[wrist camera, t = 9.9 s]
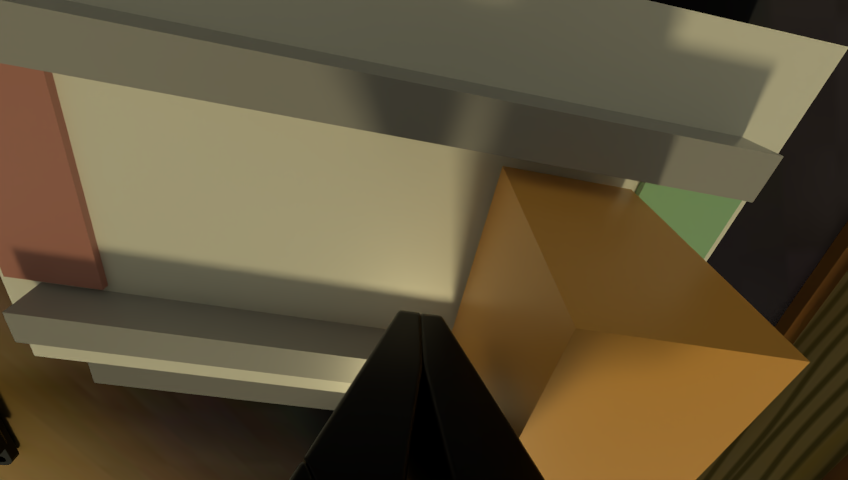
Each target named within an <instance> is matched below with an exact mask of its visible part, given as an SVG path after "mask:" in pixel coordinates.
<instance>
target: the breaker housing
mask: <svg viewBox="0 0 848 480" xmlns="http://www.w3.org/2000/svg"><path fill="white" fill-rule="evenodd" d="M847 49H848V47H846V46H842V45H838V44H833V43H829V42H825V41H820V40H816V39H812V38H808V37H803V36H799V35H795V34H790V33H786V32H782V31H778V30H773V29H769V28H765V27H760V26H756V25H752V24H748V23H743V22H739V21H735V20H730V19H726V18H722V17H718V16H713V15H709V14H705V13H700V12H696V11H692V10H688V9H683V8H679V7H675V6H670V5H666V4H662V3H658V2H653V1H649V0H0V276H1V279H2V281H3V283H4V286H5V288H6V290H7V293H8V295H9V297H10V300H11V302H12V305H11V306H10V307H8V308H7V309H6V310H5V311H3V312H2V313H3V315H4V318H5V320H6V322H7V324H8V326H9V329H10V331H11V333H12V335H13V338H14V340H15V342H19V343H27V344H30V346H31V349H32V351H33V353H34V356H41V357H49V358H58V359H66V360H74V361H83V362H91V363H99V364H108V365H116V366H124V367H133V368H141V369H149V370H158V371H166V372H174V373H182V374H191V375H199V376H207V377H216V378H224V379H232V380H241V381H249V382H257V383H266V384H274V385H282V386H291V387H299V388H307V389H316V390H324V391H332V392H341V393H346V391H347V390H348V388H349V387H350V385H351V383H352V382H353V380H354V379H355V377H356V376H357V374H358V373H359V371H360V369H361V368H362V366H363V365H364V363H365V362H366V360H367V359H368V357H369V355H370V354H371V352H372V351H373V349H374V348H375V346H376V345H377V343H378V341H379V340H380V338H381V337H382V335H383V334H384V332H385V331H386V329H387V327H388V326H389V324H390V323H391V321H392V320H393V318H394V317H395V315H396V313H397V312H398V311H399V310H406V311H414V312H419V313H420V314H421V313H428V314H435V315H440V316H441V317H443V319H444V320H445V322H446V323H447V325H448V327H449V328H450V330H451V331H452V329H453V326H454V323H455V320H456V316H457V313H458V310H459V307H460V303H461V300H462V297H463V293H464V290H465V287H466V284H467V280H468V277H469V274H470V271H471V267H472V264H473V261H474V258H475V254H476V251H477V248H478V245H479V241H480V238H481V235H482V231H483V228H484V225H485V222H486V218H487V215H488V212H489V209H490V205H491V202H492V199H493V196H494V192H495V189H496V186H497V182H498V179H499V176H500V173H501V169H502V166H506V167H511V168H517V169H522V170H528V171H533V172H539V173H544V174H550V175H555V176H561V177H566V178H572V179H577V180H583V181H588V182H593V183H599V184H604V185H610V186H615V187H621V188H626V189H631V190H632V191H633V192H635V193H636V194H637V195H638V196H639V197H640V198H641V199H642V200H643V201H644V202H645V203H646V204H647V205H648V206H649V207H650V208H651V209H652V210H653V211H654V212H655V213H656V214H657V215H658V216H659V217H660V218H661V219H663V220H664V221H665V222H666V223H667V224H668V225H669V226H670V227H671V228H672V229H673V230H674V231H675V232H676V233H677V234H678V235H679V236H680V237H681V238H682V239H683V240H684V241H685V242H686V243H687V244H688V245H689V246H691V247H692V248H693V249H694V250H695V251H696V252H697V253H698V254H699V255H700V256H701V257H702V258H703V259H704V260H705V261H706V262H707V260H708V259H709V257H710V256H711V254H712V252H713V251H714V249H715V248H716V246H717V245H718V243H719V242H720V240H721V239H722V237H723V236H724V234H725V233H726V231H727V230H728V228H729V227H730V225H731V224H732V222H733V221H734V219H735V218H736V216H737V215H738V213H739V212H740V210H741V209H742V207H743V206H744V204H745V203H746V201H748V202H753V201H754V200H755V198H756V197H757V195H758V194H759V192H760V191H761V189H762V188H763V186H764V185H765V183H766V182H767V180H768V179H769V178H770V176H771V175H772V173H773V172H774V170H775V169H776V167H777V166H778V164H779V163H780V161H781V160H782V158H783V157H784V156H782V155H780V154H778V153H779V152H780V150H781V149H782V147H783V146H784V144H785V142H786V141H787V139H788V138H789V136H790V135H791V133H792V132H793V130H794V129H795V127H796V126H797V124H798V123H799V121H800V120H801V118H802V117H803V115H804V114H805V112H806V111H807V109H808V108H809V106H810V105H811V103H812V102H813V100H814V99H815V97H816V96H817V94H818V93H819V91H820V90H821V88H822V87H823V85H824V84H825V82H826V81H827V79H828V78H829V76H830V75H831V73H832V72H833V70H834V69H835V67H836V66H837V64H838V63H839V61H840V60H841V58H842V57H843V55H844V54H845V52H846V51H847Z"/></svg>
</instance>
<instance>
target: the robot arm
mask: <svg viewBox="0 0 848 480" xmlns="http://www.w3.org/2000/svg"><path fill="white" fill-rule="evenodd" d="M18 455H19V452H18V450H17V448H16V446H15V444H14V443H13V441H12V439H11V437H10V435H9V433H8V432H7V430H6V428H5V426H4V424H3V423H2V421H1V419H0V465H9V464H11V463H12V462H13V461H14V459H15V458H16V457H17V456H18ZM289 480H545V479H544V477H543V476H542V474H541V473H540V471H539V469H538V468H537V466H536V465H535V463H534V461H533V460H532V458H531V457H530V455H529V453H528V452H527V450H526V449H525V447H524V446H523V444H522V442H521V441H520V439H519V438H518V436H517V434H516V433H515V431H514V430H513V428H512V427H511V425H510V423H509V422H508V420H507V419H506V417H505V415H504V414H503V412H502V411H501V409H500V408H499V406H498V404H497V403H496V401H495V400H494V398H493V396H492V395H491V393H490V392H489V390H488V388H487V387H486V385H485V384H484V382H483V381H482V379H481V377H480V376H479V374H478V373H477V371H476V369H475V368H474V366H473V365H472V363H471V362H470V360H469V358H468V357H467V355H466V354H465V352H464V350H463V349H462V347H461V346H460V344H459V342H458V341H457V339H456V338H455V336H454V335H453V333H452V331H451V330H450V328H449V327H448V325H447V323H446V322H445V320H444V319H443V317H441V316H440V315H435V314H428V313H421V314H420V313H419V312H414V311H406V310H399V311H398V312H397V313H396V315H395V317H394V318H393V320H392V321H391V323H390V324H389V326H388V327H387V329H386V331H385V332H384V334H383V335H382V337H381V338H380V340H379V341H378V343H377V345H376V346H375V348H374V349H373V351H372V352H371V354H370V355H369V357H368V359H367V360H366V362H365V363H364V365H363V366H362V368H361V369H360V371H359V373H358V374H357V376H356V377H355V379H354V380H353V382H352V383H351V385H350V387H349V388H348V390H347V391H346V393H345V394H344V396H343V397H342V399H341V401H340V402H339V404H338V405H337V407H336V408H335V410H334V411H333V413H332V415H331V416H330V418H329V419H328V421H327V422H326V424H325V425H324V427H323V429H322V430H321V432H320V433H319V435H318V436H317V438H316V439H315V441H314V443H313V444H312V446H311V447H310V449H309V450H308V452H307V453H306V455H305V457H304V459H303V462H301V463H300V464H299V465H298V467H297V468H296V470H295V472H294V473H293V475H292V476H291V478H290V479H289Z"/></svg>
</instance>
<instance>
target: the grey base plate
mask: <svg viewBox="0 0 848 480" xmlns="http://www.w3.org/2000/svg"><path fill="white" fill-rule="evenodd" d="M88 365H89V368H90V371H91V374H92V377H93V380H94V383H102V384H110V385H119V386H128V387H136V388H145V389H154V390H162V391H171V392H180V393H188V394H197V395H206V396H214V397H223V398H232V399H240V400H249V401H258V402H266V403H275V404H283V405H292V406H301V407H309V408H318V409H327V410H335V408H336V407H337V405H338V404H339V402H340V401H341V399H342V397H343V396H344V394H345V393H341V392H332V391H324V390H316V389H307V388H299V387H291V386H282V385H274V384H266V383H257V382H249V381H241V380H232V379H224V378H216V377H207V376H199V375H191V374H182V373H174V372H166V371H158V370H149V369H141V368H133V367H124V366H116V365H108V364H99V363H91V362H88Z"/></svg>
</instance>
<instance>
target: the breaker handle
mask: <svg viewBox="0 0 848 480" xmlns="http://www.w3.org/2000/svg"><path fill="white" fill-rule="evenodd" d="M452 333H453V335H454V336H455V338H456V339H457V341H458V342H459V344H460V346H461V347H462V349H463V350H464V352H465V354H466V355H467V357H468V358H469V360H470V362H471V363H472V365H473V366H474V368H475V369H476V371H477V373H478V374H479V376H480V377H481V379H482V381H483V382H484V384H485V385H486V387H487V388H488V390H489V392H490V393H491V395H492V396H493V398H494V400H495V401H496V403H497V404H498V406H499V408H500V409H501V411H502V412H503V414H504V415H505V417H506V419H507V420H508V422H509V423H510V425H511V427H512V428H513V430H514V431H515V433H516V434H517V436H518V438H519V439H520V441H521V442H522V444H523V446H524V447H525V449H526V450H527V452H528V453H529V455H530V457H531V458H532V460H533V461H534V463H535V465H536V466H537V468H538V469H539V471H540V473H541V474H542V476H543V477H544V479H545V480H696V479H697V478H698V477H699V476H700V475H701V474H702V473H703V472H704V471H705V470H706V469H707V468H708V467H709V466H710V465H711V464H712V463H713V462H714V461H715V460H716V459H717V457H718V456H719V455H720V454H721V453H722V452H723V451H724V450H725V449H726V448H727V447H728V446H729V445H730V444H731V443H732V442H733V441H734V440H735V439H736V438H737V437H738V436H739V435H740V434H741V433H742V432H743V431H744V430H745V429H746V428H747V427H748V426H749V425H750V424H751V423H752V421H753V420H754V419H755V418H756V417H757V416H758V415H759V414H760V413H761V412H762V411H763V410H764V409H765V408H766V407H767V406H768V405H769V404H770V403H771V402H772V401H773V400H774V399H775V398H776V397H777V396H778V395H779V394H780V393H781V392H782V391H783V390H784V389H785V388H786V387H787V385H788V384H789V383H790V382H791V381H792V380H793V379H794V378H795V377H796V376H797V375H798V374H799V373H800V372H801V371H802V370H803V369H804V368H805V367H806V366H807V365H808V364H809V363H810V361H809V360H808V359H807V358H806V357H805V356H804V355H803V354H802V353H800V352H799V351H798V350H797V349H796V348H795V347H794V346H793V345H792V344H791V343H790V342H789V341H788V340H787V339H786V338H785V337H784V336H783V335H782V334H781V333H780V332H779V331H778V330H777V329H776V328H775V327H774V326H772V325H771V324H770V323H769V322H768V321H767V320H766V319H765V318H764V317H763V316H762V315H761V314H760V313H759V312H758V311H757V310H756V309H755V308H754V307H753V306H752V305H751V304H750V303H749V302H748V301H747V300H746V299H744V298H743V297H742V296H741V295H740V294H739V293H738V292H737V291H736V290H735V289H734V288H733V287H732V286H731V285H730V284H729V283H728V282H727V281H726V280H725V279H724V278H723V277H722V276H721V275H720V274H719V273H717V272H716V271H715V270H714V269H713V268H712V267H711V266H710V265H709V264H708V263H707V262H706V261H705V260H704V259H703V258H702V257H701V256H700V255H699V254H698V253H697V252H696V251H695V250H694V249H693V248H692V247H691V246H689V245H688V244H687V243H686V242H685V241H684V240H683V239H682V238H681V237H680V236H679V235H678V234H677V233H676V232H675V231H674V230H673V229H672V228H671V227H670V226H669V225H668V224H667V223H666V222H665V221H664V220H663V219H661V218H660V217H659V216H658V215H657V214H656V213H655V212H654V211H653V210H652V209H651V208H650V207H649V206H648V205H647V204H646V203H645V202H644V201H643V200H642V199H641V198H640V197H639V196H638V195H637V194H636V193H635V192H633V191H632V190H631V189H626V188H621V187H615V186H610V185H604V184H599V183H593V182H588V181H583V180H577V179H572V178H566V177H561V176H555V175H550V174H544V173H539V172H533V171H528V170H522V169H517V168H511V167H506V166H502V169H501V173H500V176H499V179H498V182H497V186H496V189H495V192H494V196H493V199H492V202H491V205H490V209H489V212H488V215H487V218H486V222H485V225H484V228H483V231H482V235H481V238H480V241H479V245H478V248H477V251H476V254H475V258H474V261H473V264H472V267H471V271H470V274H469V277H468V280H467V284H466V287H465V290H464V293H463V297H462V300H461V303H460V307H459V310H458V313H457V316H456V320H455V323H454V326H453V329H452Z"/></svg>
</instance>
